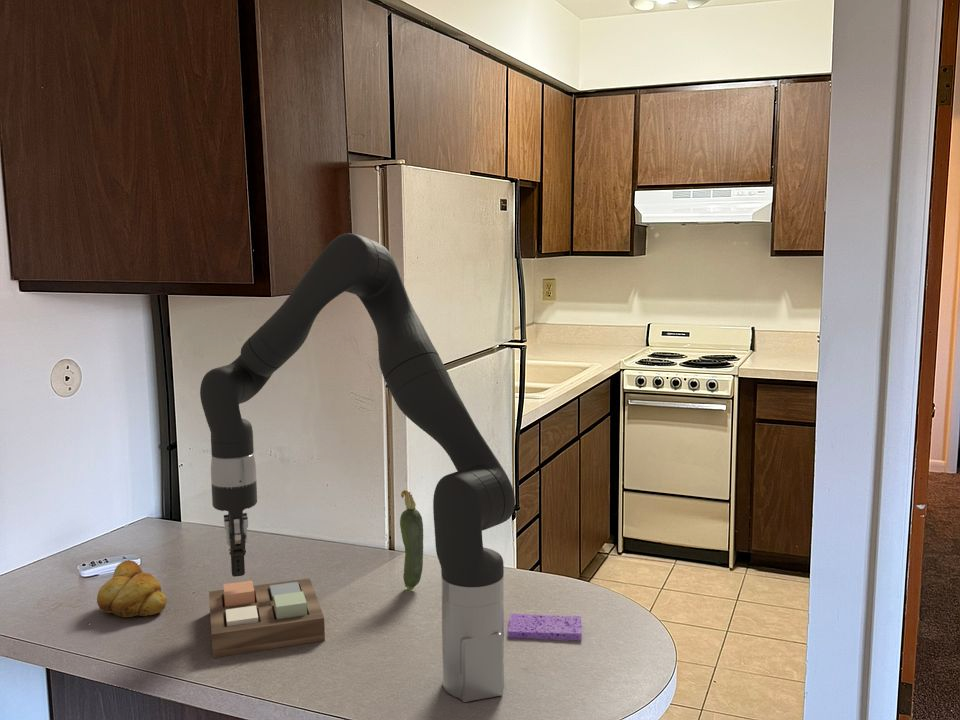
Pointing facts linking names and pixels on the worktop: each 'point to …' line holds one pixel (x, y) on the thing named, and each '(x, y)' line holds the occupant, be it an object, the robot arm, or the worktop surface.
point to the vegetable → (412, 541)
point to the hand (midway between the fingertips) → (238, 574)
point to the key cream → (241, 615)
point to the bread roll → (131, 592)
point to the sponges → (545, 627)
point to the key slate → (283, 589)
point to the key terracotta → (239, 593)
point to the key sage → (290, 605)
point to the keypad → (265, 623)
